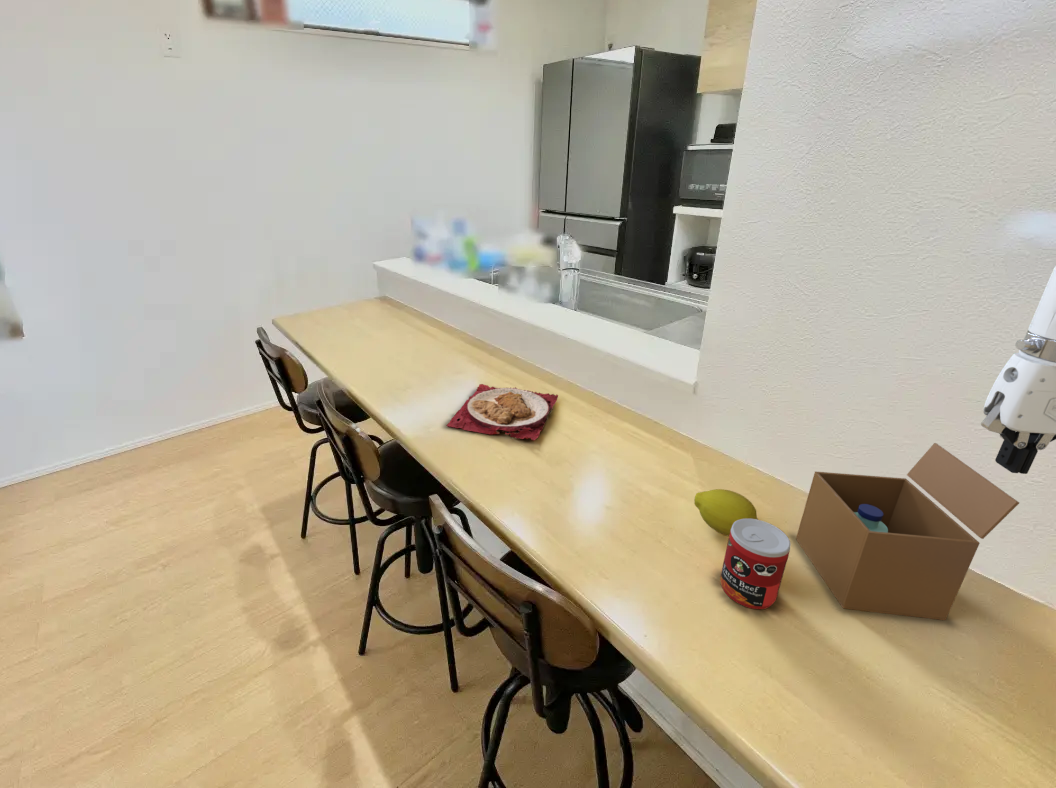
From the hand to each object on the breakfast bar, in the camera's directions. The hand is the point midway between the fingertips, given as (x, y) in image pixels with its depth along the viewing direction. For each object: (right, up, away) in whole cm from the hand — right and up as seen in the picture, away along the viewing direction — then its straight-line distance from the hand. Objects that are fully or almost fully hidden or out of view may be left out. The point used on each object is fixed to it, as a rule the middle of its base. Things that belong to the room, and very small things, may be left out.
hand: (1010, 467), depth 71 cm
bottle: (-15, -20, +10) cm, 27 cm away
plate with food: (-67, -2, +63) cm, 92 cm away
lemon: (-31, -17, +20) cm, 40 cm away
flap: (-6, -3, +2) cm, 7 cm away
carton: (-13, -20, +9) cm, 26 cm away
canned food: (-34, -22, +7) cm, 41 cm away
